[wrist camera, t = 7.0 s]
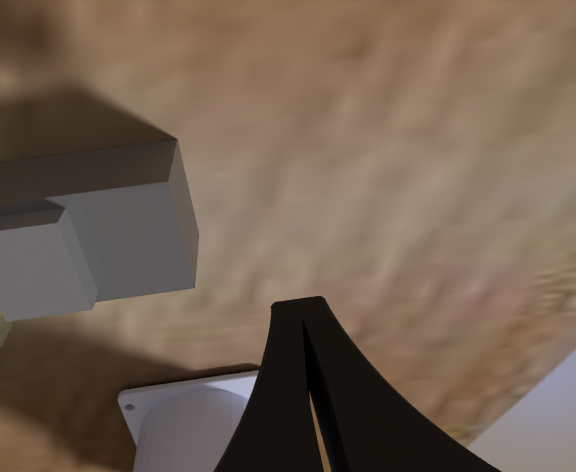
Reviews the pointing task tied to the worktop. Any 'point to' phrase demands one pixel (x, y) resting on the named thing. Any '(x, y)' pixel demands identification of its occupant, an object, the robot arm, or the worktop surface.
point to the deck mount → (4, 329)
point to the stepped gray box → (94, 228)
